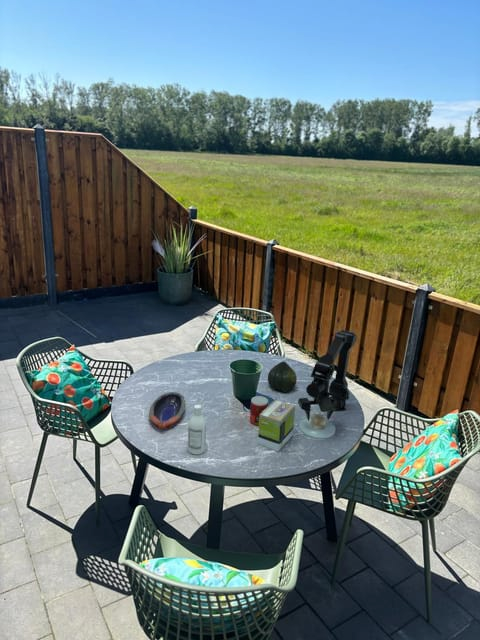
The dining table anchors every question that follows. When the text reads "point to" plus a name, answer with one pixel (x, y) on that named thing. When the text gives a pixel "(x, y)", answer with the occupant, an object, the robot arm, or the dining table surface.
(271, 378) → the squash
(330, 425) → the ceramic plate
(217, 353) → the dining table surface
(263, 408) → the canned food
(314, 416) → the beech cube
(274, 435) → the tea box
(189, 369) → the dining table surface
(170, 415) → the dish
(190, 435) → the bath foam
